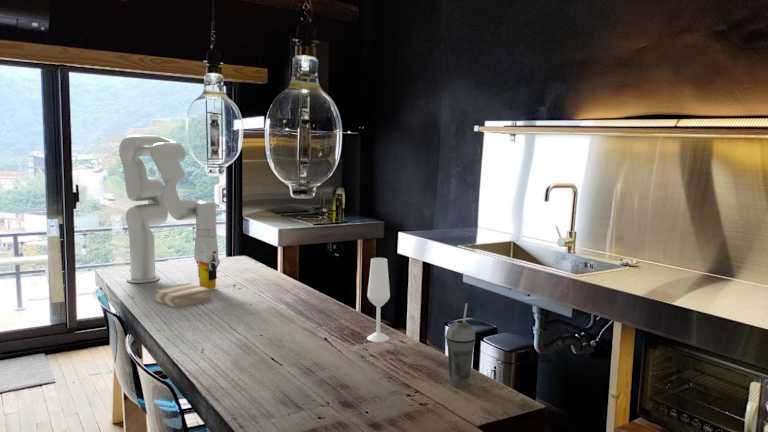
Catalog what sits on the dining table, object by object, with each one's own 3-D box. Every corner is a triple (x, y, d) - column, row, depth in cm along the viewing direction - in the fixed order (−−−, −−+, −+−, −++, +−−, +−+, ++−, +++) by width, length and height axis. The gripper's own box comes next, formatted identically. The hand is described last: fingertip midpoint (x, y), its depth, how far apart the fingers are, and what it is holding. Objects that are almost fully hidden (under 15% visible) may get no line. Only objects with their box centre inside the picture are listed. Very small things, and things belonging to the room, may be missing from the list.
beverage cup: (441, 377, 143) (443, 299, 140) (470, 377, 143) (473, 299, 141) (447, 390, 136) (449, 307, 133) (477, 389, 136) (480, 307, 134)
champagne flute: (368, 342, 168) (369, 261, 165) (365, 335, 174) (366, 257, 171) (391, 341, 169) (392, 261, 166) (386, 333, 175) (388, 256, 172)
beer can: (211, 291, 222) (210, 253, 220) (196, 290, 223) (195, 252, 222) (218, 288, 228) (217, 250, 226) (204, 287, 229) (203, 250, 227)
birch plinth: (155, 300, 209) (154, 289, 208) (189, 293, 220) (189, 283, 219) (175, 307, 200) (175, 296, 200) (210, 299, 211) (210, 289, 210)
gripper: (185, 231, 226) (186, 276, 228) (210, 236, 215) (212, 283, 217) (202, 229, 231) (203, 273, 233) (227, 234, 220) (228, 280, 223)
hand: (207, 277), depth 225 cm, fingers closed on beer can, 6 cm apart
